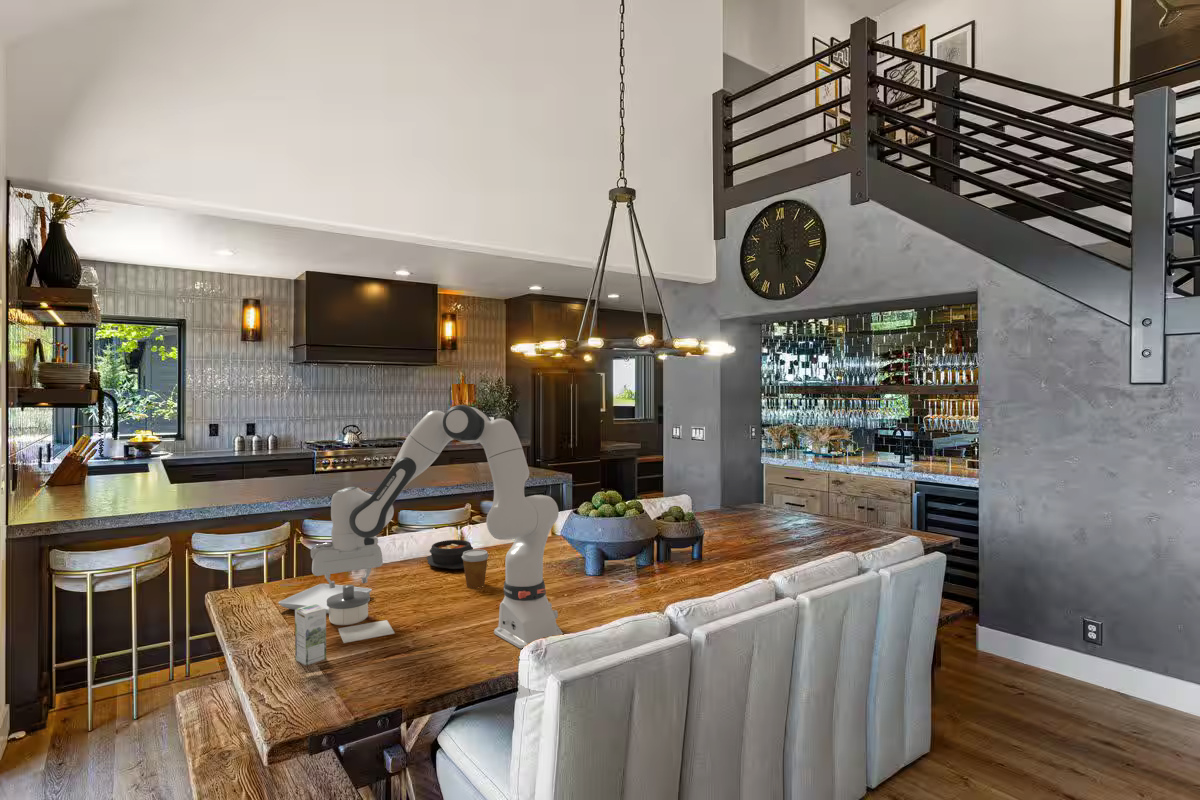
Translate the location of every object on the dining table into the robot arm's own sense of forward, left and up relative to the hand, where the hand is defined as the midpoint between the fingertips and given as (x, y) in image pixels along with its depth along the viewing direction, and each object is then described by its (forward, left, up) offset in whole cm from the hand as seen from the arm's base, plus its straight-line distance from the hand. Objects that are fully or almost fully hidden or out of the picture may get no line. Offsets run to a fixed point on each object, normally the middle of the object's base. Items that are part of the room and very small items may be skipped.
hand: (348, 585), depth 202 cm
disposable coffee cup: (+14, -45, -12) cm, 49 cm away
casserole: (+44, -45, -12) cm, 64 cm away
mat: (-13, -3, -11) cm, 17 cm away
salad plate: (+20, +4, -12) cm, 24 cm away
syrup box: (-26, +13, -12) cm, 31 cm away
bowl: (0, 0, -11) cm, 11 cm away
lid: (0, 0, -5) cm, 5 cm away
